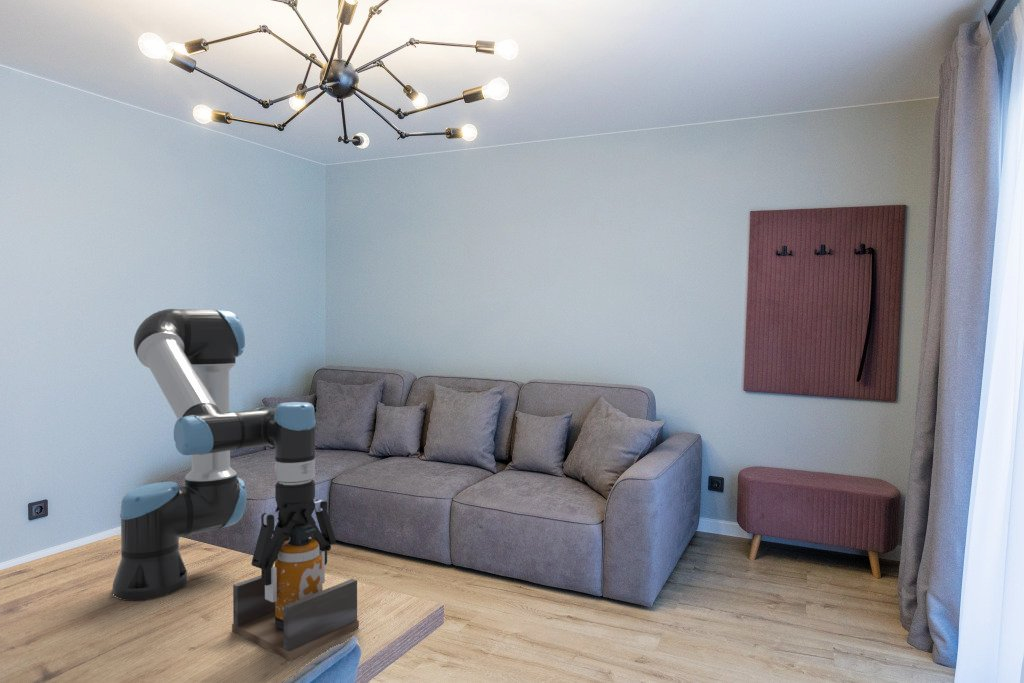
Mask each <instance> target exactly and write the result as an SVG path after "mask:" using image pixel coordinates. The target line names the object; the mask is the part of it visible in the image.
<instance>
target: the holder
mask: <svg viewBox="0 0 1024 683" xmlns="http://www.w3.org/2000/svg"><path fill="white" fill-rule="evenodd" d="M261 577H262V576H261V574H260V575H258V576H255V577H252V578H249V579H246V580H243V581H240V582H238V583H237V582H236V583H234V584H233V585H232V590H233V591H232V592H233V593H232V599H233V600H232V601H233V603H232V604H233V606H232V607H233V608H232V609H233V610H232V611H233V612H232V613H233V614H232V615H233V617H232V618H233V619H232V620H233V623H232V624H231V632H232V633H234V634H236V635H238V636H240V637H242V638H244V639H247V641H250V642H252V643H254V644H256V645H258V646H260V647H262V648H264V649H265V650H268V651H270V652H272V653H275V654H276V655H278V656H281V657H282V658H284V659H286V660H289V661H292V660H295V659H296V658H298V657H301V656H304V654H308V653H310V652H311V651H313V650H316V649H317V648H320V647H322V646H324V645H326V644H328V643H330V642H332V641H334V640H336V639H338V638H341V637H343V636H344V635H347V634H349V633H351V632H353V631H355V630H357V629H359V628H360V620H359V619H358V580H357V579H354V578H351V579H348V580H346V581H343V582H341V583H338V584H335V585H333V586H330V587H328V588H325V589H322V591H320V592H317V593H315V594H312V595H310V596H307V597H305V598H302V599H300V600H297V601H295V602H292V603H290V604H287V605H285V606H284V629H282V628H279V627H277V626H276V624H275V602H271V601H269V600H266V599H265V585H263V584H262V582H261ZM358 627H359V628H358ZM356 628H357V629H356ZM354 629H355V630H354ZM352 630H353V631H352Z"/></svg>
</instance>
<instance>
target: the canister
mask: <svg viewBox="0 0 1024 683" xmlns="http://www.w3.org/2000/svg"><path fill="white" fill-rule="evenodd" d="M282 528H283V529H284V528H285V527H282ZM274 532H275V529H274V531H273V534H274ZM315 533H316V529H315V528H313V529H312V525H310V524H308V525H306V524H304V525H300V526H297V527H295V529H293V530H291V532H290V534H289V535H287V537H286V539H285V541H284V543H283V545H282V547H281V549H280V552H279V554H278V556H277V558H276V560H275V562H274V567H276V568H277V601H276V602H275V624H276V626H277V627H279V628H282V629H284V606H285V605H287V604H290V603H292V602H295V601H297V600H300V599H302V598H305V597H307V596H310V595H312V594H315V593H317V592H320V591H322V590H323V583H322V556H321V555H320V554H319V544H318V542H317V541H316V540H314V539H311V538H309V537H311V535H312V534H315Z"/></svg>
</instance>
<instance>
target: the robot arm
mask: <svg viewBox="0 0 1024 683" xmlns="http://www.w3.org/2000/svg"><path fill="white" fill-rule="evenodd" d="M245 345H246V336H245V331H244V328H243V324H242V322H241V320H240V319H239V317H238V316H237V315H236V314H235V313H234V312H232V311H230V310H222V309H189V308H188V309H184V308H183V309H182V308H181V309H179V308H167V309H162V310H159V311H156V312H154V313H152V314H151V315H149V316H148V317H146V318H145V319H144V320H143V321H142V322H141V323H140V325H139V326H138V328H137V330H136V332H135V334H134V337H133V348H134V352H135V355H136V357H137V359H138V361H139V362H140V364H142V365H143V366H144V367H146V368H148V369H149V370H150V372H151V374H152V376H153V377H154V379H155V380H156V382H157V385H158V386H159V388H160V389H161V392H162V394H163V396H164V397H165V399H166V400H167V403H168V405H169V407H170V408H171V409H172V411H173V413H174V415H175V417H176V419H177V420H176V421H175V423H174V427H173V440H174V442H175V449H176V450H177V452H179V453H180V455H183V456H191V470H190V471H189V472H188V473H187V474H186V475H185V476H184V485H183V486H179V483H177V482H175V481H163V482H154V483H149V484H145V485H143V486H139V487H137V488H133V489H132V490H130V491H128V492H127V493H126V494H125V495H124V496H122V499H121V503H120V504H121V506H120V513H119V518H120V532H121V533H120V543H121V544H120V546H121V551H120V552H121V556H120V557H121V558H120V562H119V564H118V568H117V571H116V573H115V576H114V579H113V582H112V595H113V594H114V596H116V597H118V598H121V599H120V600H122V599H125V600H124V601H143V600H144V601H145V600H150V599H155V598H160V597H164V596H166V595H170V594H172V593H175V592H177V591H179V590H181V589H182V588H183V587H186V585H187V583H188V570H187V568H186V565H185V563H184V560H183V558H182V555H181V553H180V547H179V545H180V544H179V543H180V542H179V540H180V539H179V538H181V537H186V536H190V535H195V534H199V533H204V532H205V533H206V532H210V531H214V530H221V529H223V528H226V527H230V526H233V525H235V524H237V523H238V522H240V520H241V519H242V517H243V515H244V513H245V510H246V506H247V499H248V498H247V496H248V495H247V489H246V485H245V482H244V480H243V479H242V478H240V477H238V475H237V471H236V469H235V470H234V469H233V468H232V466H231V451H234V450H235V451H236V450H243V449H251V448H257V447H258V448H259V447H268V446H269V447H270V446H271V447H274V449H275V453H274V455H275V457H274V458H275V459H274V460H275V462H274V465H275V467H274V474H275V475H274V479H275V480H276V481H277V482H276V483H275V485H274V486H275V487H274V488H275V503H276V509H275V511H274V512H271V513H270V512H269V513H266V512H263V513H262V514H261V515H260V516H261V518H260V519H261V527H260V530H259V534H258V537H257V541H256V545H255V548H254V552H253V556H252V560H251V564H250V565H251V566H252V567H255V568H257V569H260V570H261V571H260V572H261V573H260V575H261V576H262V577H261V582H262V584H263V585H265V599H266V600H269V601H271V602H276V601H277V568H276V567H275V560H276V558H277V556H278V554H279V552H280V549H281V547H282V545H283V543H284V541H285V539H286V537H287V535H289V534H290V532H291V530H293V529H295V527H297V526H300V525H304V524H306V525H308V524H310V525H312V529H313V528H315V529H316V533H315V534H312V535H311V538H312V539H314V540H316V541H317V542H318V544H319V554H320V555H321V556H322V584H324V583H325V582H326V579H325V578H326V577H325V576H326V571H325V570H326V568H325V567H326V565H327V563H328V552H329V551H331V549H332V546H333V545H335V544H336V537H335V533H334V531H333V527H332V523H331V520H330V517H329V514H328V501H327V500H323V499H319V498H317V499H316V500H315V501H314V499H315V497H316V482H315V480H314V479H315V477H316V425H317V424H316V423H317V422H316V417H315V416H316V415H315V407H314V405H313V404H312V403H310V402H302V401H290V402H289V401H287V402H282V403H278V404H277V405H276V407H271V406H268V407H267V406H266V407H265V406H264V407H263V406H262V407H261V406H260V407H258V408H255V409H253V410H243V411H232V412H230V370H231V369H232V368H233V367H234V366H235V365H237V364H236V363H237V362H236V358H239V357H240V356H241V355H242V354H243V353H244V351H245V349H244V348H245V347H246V346H245ZM313 513H314V514H315V517H316V520H317V522H316V521H315V519H314V517H313ZM277 520H278V521H277ZM317 523H318V526H319V527H318V526H317ZM282 527H285V528H284V529H283V528H282ZM274 530H275V532H274V534H273V531H274ZM114 596H113V597H114ZM116 597H115V598H116ZM118 598H117V599H118Z"/></svg>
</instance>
